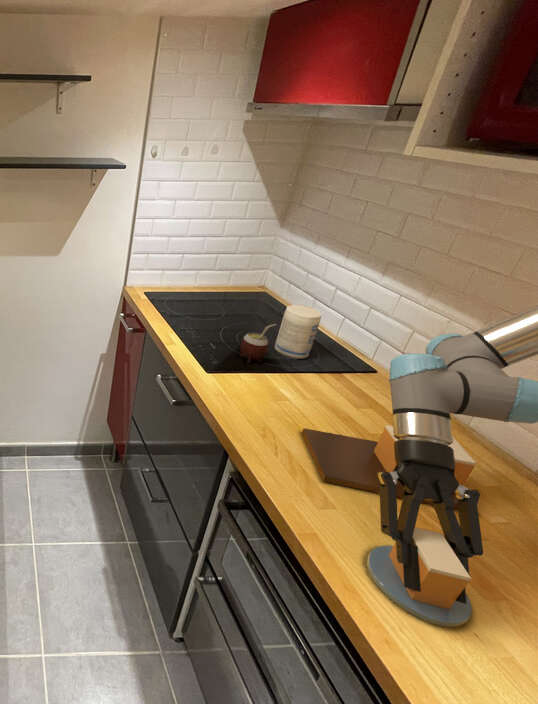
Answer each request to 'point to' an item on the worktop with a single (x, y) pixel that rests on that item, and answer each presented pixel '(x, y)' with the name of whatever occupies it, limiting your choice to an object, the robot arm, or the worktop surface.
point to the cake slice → (435, 570)
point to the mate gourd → (254, 346)
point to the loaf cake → (462, 458)
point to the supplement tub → (297, 331)
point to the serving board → (349, 461)
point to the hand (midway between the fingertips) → (434, 594)
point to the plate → (396, 591)
